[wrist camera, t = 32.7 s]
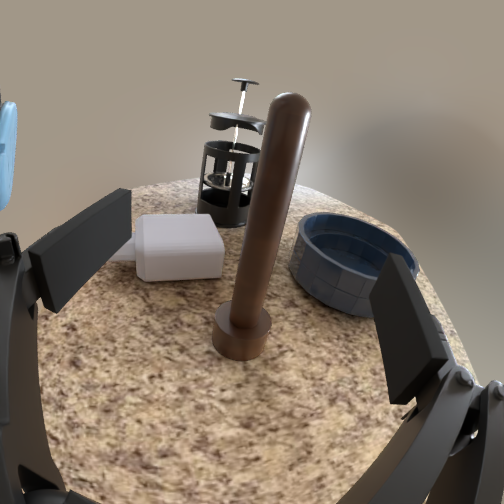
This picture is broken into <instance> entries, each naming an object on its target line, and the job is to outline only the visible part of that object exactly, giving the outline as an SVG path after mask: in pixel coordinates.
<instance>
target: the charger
mask: <svg viewBox="0 0 504 504" xmlns="http://www.w3.org/2000/svg"><path fill="white" fill-rule="evenodd" d="M224 256H225V248H224V244H223V241H222V238H221V236H220V234H219V232H218V230H217V228H216V226H215V224H214V222H213V220H212V218H211V216H210V215H209V214H149V215H142V216H140V217H139V218H137V219H136V228H135V233H132V238H131V239H130V240H129V241H128V242H126V243H125V244H124V245H123V246H122V247H121V248H120V249H119V250H118V251H117V252H116V253H115V254H114V255H113V256H112V257H111V258H110V259H109V260H108V261H109V262H129V261H136V272H137V276H138V277H139V278H141V279H142V280H144V281H145V282H150V281H170V280H189V279H206V278H221V275H222V269H223V262H224Z"/></svg>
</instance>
